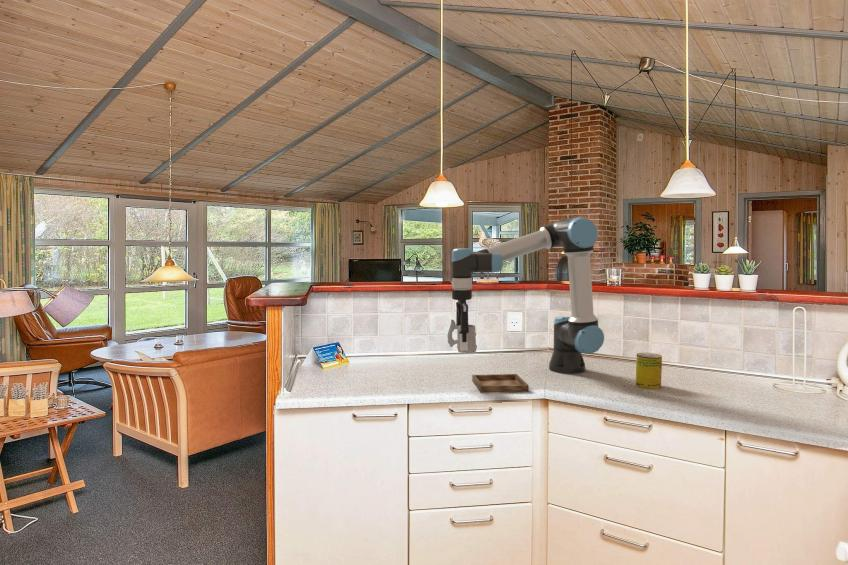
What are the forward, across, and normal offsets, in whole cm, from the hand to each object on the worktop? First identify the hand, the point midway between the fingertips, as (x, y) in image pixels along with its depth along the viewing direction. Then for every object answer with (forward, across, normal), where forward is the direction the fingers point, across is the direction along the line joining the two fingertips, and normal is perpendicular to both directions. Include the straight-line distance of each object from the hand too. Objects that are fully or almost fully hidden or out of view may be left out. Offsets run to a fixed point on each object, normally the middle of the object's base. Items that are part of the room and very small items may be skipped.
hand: (462, 347), depth 213 cm
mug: (+1, -1, 0) cm, 2 cm away
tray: (+15, +3, +14) cm, 20 cm away
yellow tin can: (+16, +8, +71) cm, 73 cm away
